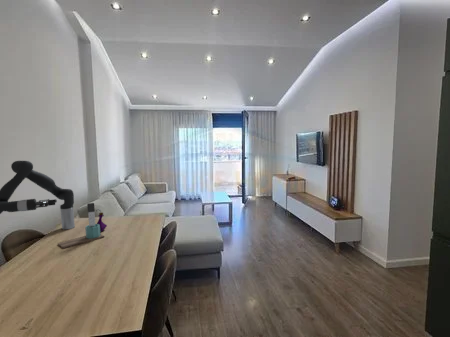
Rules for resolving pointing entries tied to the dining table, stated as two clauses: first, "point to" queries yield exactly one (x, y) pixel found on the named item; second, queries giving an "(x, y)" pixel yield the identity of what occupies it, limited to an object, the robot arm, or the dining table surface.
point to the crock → (92, 231)
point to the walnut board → (77, 241)
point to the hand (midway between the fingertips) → (55, 202)
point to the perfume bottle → (102, 225)
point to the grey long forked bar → (91, 214)
